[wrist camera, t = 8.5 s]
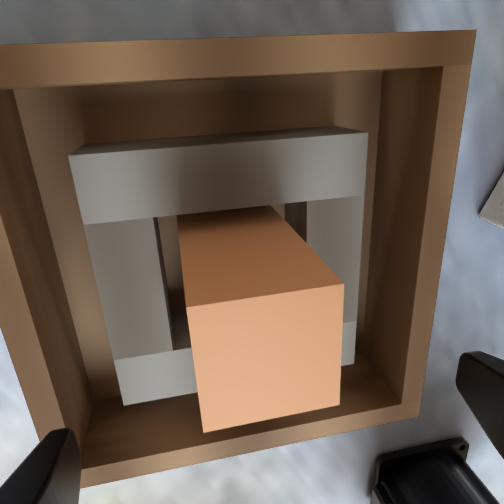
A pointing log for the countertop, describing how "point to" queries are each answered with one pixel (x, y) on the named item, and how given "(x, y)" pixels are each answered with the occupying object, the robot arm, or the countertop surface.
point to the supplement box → (495, 206)
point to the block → (259, 317)
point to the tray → (215, 100)
